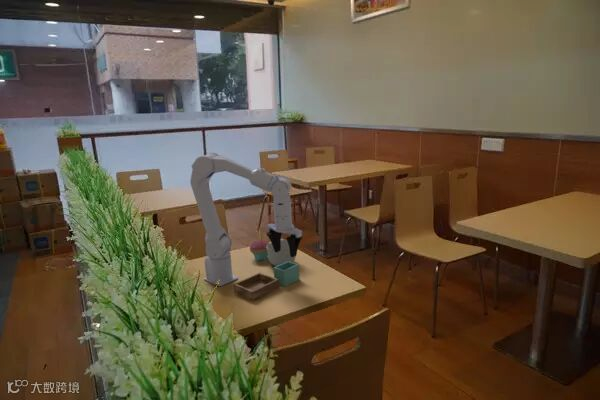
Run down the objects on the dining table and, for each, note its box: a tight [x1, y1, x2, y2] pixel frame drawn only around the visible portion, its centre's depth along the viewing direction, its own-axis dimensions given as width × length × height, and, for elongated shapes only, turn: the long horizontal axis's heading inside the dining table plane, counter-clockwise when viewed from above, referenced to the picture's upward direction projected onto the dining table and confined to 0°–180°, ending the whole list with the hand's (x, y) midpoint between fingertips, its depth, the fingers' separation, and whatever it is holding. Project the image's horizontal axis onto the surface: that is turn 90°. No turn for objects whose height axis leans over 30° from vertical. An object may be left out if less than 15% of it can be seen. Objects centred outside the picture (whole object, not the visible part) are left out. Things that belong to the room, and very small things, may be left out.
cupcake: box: [249, 227, 270, 261], centre depth 159 cm, size 9×8×12 cm
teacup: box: [266, 238, 297, 267], centre depth 154 cm, size 14×11×8 cm
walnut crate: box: [232, 272, 280, 302], centre depth 132 cm, size 9×11×3 cm
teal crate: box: [273, 261, 300, 287], centre depth 138 cm, size 5×7×6 cm
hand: (285, 253), depth 136 cm, fingers open, 7 cm apart
